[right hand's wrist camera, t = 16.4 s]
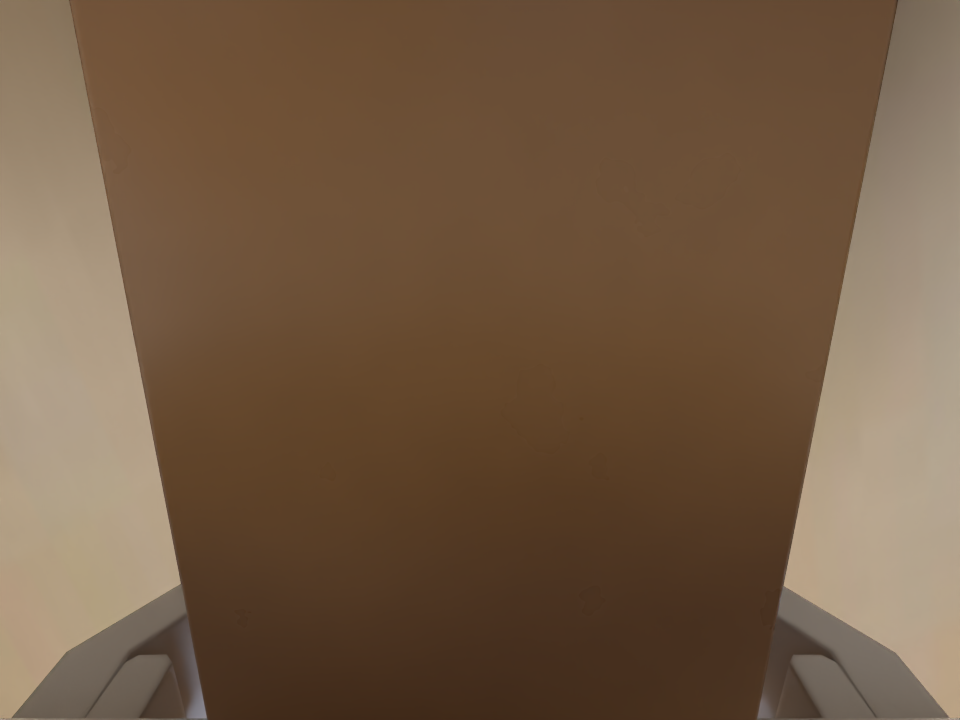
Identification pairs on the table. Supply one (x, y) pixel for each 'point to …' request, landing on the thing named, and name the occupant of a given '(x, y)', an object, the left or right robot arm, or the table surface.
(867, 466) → the table surface
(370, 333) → the bar
